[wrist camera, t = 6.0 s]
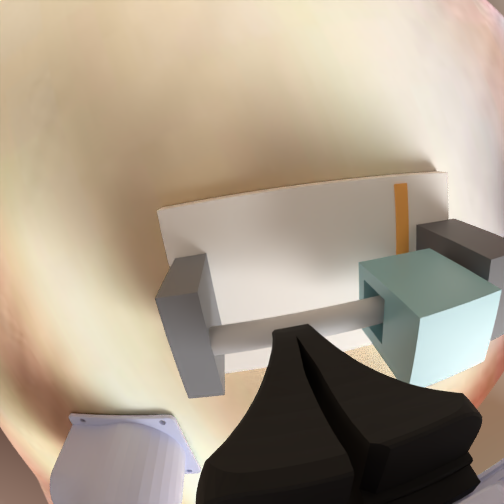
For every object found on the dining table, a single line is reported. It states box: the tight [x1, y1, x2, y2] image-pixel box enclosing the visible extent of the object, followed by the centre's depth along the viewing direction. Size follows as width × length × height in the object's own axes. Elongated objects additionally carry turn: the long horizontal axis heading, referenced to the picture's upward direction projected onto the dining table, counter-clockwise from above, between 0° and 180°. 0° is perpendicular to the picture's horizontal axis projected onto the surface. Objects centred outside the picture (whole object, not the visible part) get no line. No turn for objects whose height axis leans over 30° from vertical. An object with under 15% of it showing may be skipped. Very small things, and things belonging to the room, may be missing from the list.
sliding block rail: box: [155, 171, 504, 398], centre depth 14 cm, size 16×10×7 cm, turn 98°
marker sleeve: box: [359, 248, 501, 387], centre depth 11 cm, size 4×3×5 cm
